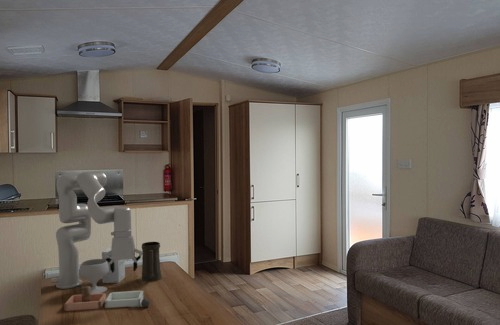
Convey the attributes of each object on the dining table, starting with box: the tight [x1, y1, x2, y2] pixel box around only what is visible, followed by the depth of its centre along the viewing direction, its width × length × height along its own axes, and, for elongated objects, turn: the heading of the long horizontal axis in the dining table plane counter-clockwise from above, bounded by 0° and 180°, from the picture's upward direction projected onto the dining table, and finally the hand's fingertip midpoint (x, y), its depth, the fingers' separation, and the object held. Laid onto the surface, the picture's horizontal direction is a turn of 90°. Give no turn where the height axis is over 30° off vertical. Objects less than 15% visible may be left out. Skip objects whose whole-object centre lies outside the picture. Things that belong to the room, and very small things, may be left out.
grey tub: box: [104, 290, 145, 309], centre depth 178 cm, size 15×11×4 cm
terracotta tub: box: [64, 292, 107, 312], centre depth 176 cm, size 15×11×4 cm
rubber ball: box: [141, 298, 151, 308], centre depth 174 cm, size 4×4×4 cm
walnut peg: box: [81, 285, 91, 302], centre depth 176 cm, size 4×4×8 cm
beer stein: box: [141, 241, 162, 283], centre depth 211 cm, size 15×11×20 cm
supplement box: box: [101, 247, 126, 284], centre depth 212 cm, size 10×9×17 cm
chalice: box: [79, 258, 109, 294], centre depth 194 cm, size 14×14×15 cm
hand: (124, 271), depth 178 cm, fingers open, 9 cm apart
